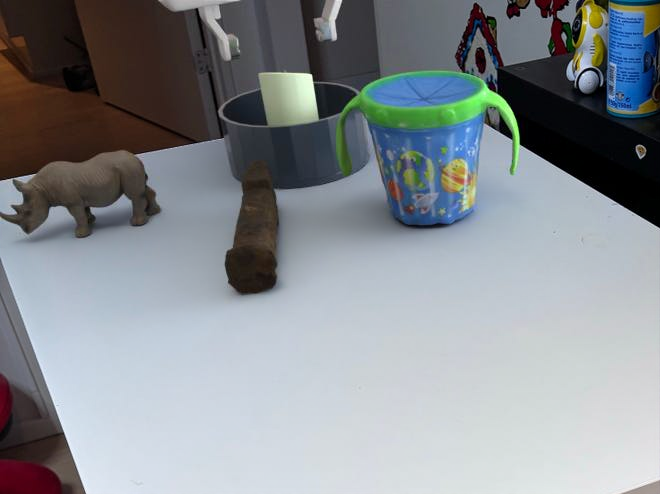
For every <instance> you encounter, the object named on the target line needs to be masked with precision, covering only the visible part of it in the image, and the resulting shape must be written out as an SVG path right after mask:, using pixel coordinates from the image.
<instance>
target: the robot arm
mask: <svg viewBox="0 0 660 494" xmlns="http://www.w3.org/2000/svg"><path fill="white" fill-rule="evenodd" d="M157 1H158V2H159V3H160V4H161V5H162V6H163V7H165V8H166V9H168V10H169V11H171V12H174V13H176V12H177V13H178V12H182V11H188V10H194V9H198V14H199V17H200V18H201V20H202V21H203V22H204V24H205V25H206V26H207V28H208V29H209V30H210V31H211V33H212V35H214V37H215V38H216V39H217V44H218V50H219V53H220V56H221V59H222V60H223V61H225V62H229V61H234V60H239V59H241V58H242V53H241V50H240V49H239V47H240V43H239V38H238V37H237V36H236V35H235V34H233V33H229V34H226V33H225V31H224V30H223V28H222V27H221V25H220V24H219V23H218V22H217V21H216V20H219V19H221V18H222V15H221V10H220V5H224V4H228V3H235V2H240V1H242V0H157ZM324 2H325V3H324V6H323V9H322V13H321V16H320V17H316V18H313V24H314V28H315V29H316V30H315V36H316V39H317V41H318V42H320V43H322V44H324V43H329V42H335V41H337V39H338V36H337V35H338V34H337V27H336V20H337V17H338V15H339V11H340V8H341V5H342V2H343V0H325V1H324Z"/></svg>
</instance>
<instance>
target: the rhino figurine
mask: <svg viewBox="0 0 660 494" xmlns="http://www.w3.org/2000/svg"><path fill="white" fill-rule="evenodd" d="M148 180H149V175H148V173H147V172H146V168H145V165H144V163H143V161H142V160H141V159H140V158H139V157H138V156H137V155H135V154H134V153H132V152H129V151H128V150H124V149H120V150H116V151H109V152H102V153H98V154H97V155H95V156H93V157H92V158H90V159H88V160H84V161H82V162H70V161H64V160H58V161H52V162H49V163H47V164H46V165H44V166H43V167H42V168H40V170H39V171H37V173H36V174H34V175H33V177H32V178H30V179H29V180H28V181H27V182H23V181H20V180H17V179H15V178H12V184H13V186H14V187H15V189H16V190H17V191H18V192H19V193H21V194H22V203H21V204H10V207H11V209H13V210H14V211H15V214H8V213H3V212H2V211H0V218H1V219H2V220H3V221H6V222H9V223H10V224H13V225H15V226H16V225H17V226H19V227H20V228H21V231H23V232H24V233H25V234H26V235H30V234H32V233H33V232H35V230H38V228H40V226H41V225H43V224H44V223H45V222H46V220H47V219H48V218H49V216H50V210H51V208H57V207H63V208H66V210H67V211H68V213H69V215H70V216H72V217H73V219H74V221H75V222H76V229H75V233H74V234H75V237H76V238H84V237H87V236H89V235H90V234H91V233H92V228H91V226H92V225H94V224H95V223H96V221H97V217H96V215H94V214H93V213H92V209H91V208H95V209H97V208H98V209H100V208H101V209H102V208H107V207H110V206H112V205H114V204H115V203H116V202H118V201H119V200H120V198H122V196H125V198H127V199H128V200H130V202H131V206H132V207H131V208H132V215H131V217H130V218H129V223H130V225H131V226H142V225H144V224H145V223H147V222H148V221H149V216H148V215H153V214H155V213H158V212H160V211H161V209H162V207H161V206H160V205H159V204H158V203H157V201H156V200H157V199H156V197H157V193H156V191H155V189H153V188H152V187H150V186H149V185H148V184H147V183H148Z"/></svg>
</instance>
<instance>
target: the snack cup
mask: <svg viewBox="0 0 660 494" xmlns="http://www.w3.org/2000/svg"><path fill="white" fill-rule="evenodd" d="M359 92H360V94H359V95H357V96H356V97H354V98H353V99H352V100H351V101H350V102H349V103H348V104H347V106H346V107H345V108H344V110H343V111H342V113H341V116H340V118H339V121H338V124H337V130H336V152H337V158H338V162H339V166H340V168H341V171H342V173H343V174H344V175H345V176H346V177H349V176H351V175H352V174H351V171H352V162H351V159H350V154H349V150H348V146H347V142H346V138H345V134H344V131H345V124H346V118H347V116H348V114H349V113H350V112H351V111H352V110H353V109H354V108H355V109H358V110H360V111H361V112H362V114H363V115H364V117H365V121H366V122H367V127H368V130H369V133H370V136H371V141H372V145H373V149H374V153H375V157H376V162H377V166H378V169H379V173H380V177H381V178H380V179H381V182H382V185H383V187H384V191H385V194H386V202H387V204H388V206H389V209H390V212H391V213H392V216H394V217H395V218H396V219H397V220H399V221H401V222H402V223H404V224H406V225H408V226H412V225H414V226H415V225H417V226H432V225H435V224H442V225H443V224H444V225H452V224H453V223H454V222H455V221H458V220H461V219H464V218H465V216H467V215H469V213H470V212H473V211H474V208H475V203H476V199H477V198H476V197H477V185H478V175H479V163H480V151H481V141H482V138H483V132H484V125H485V119H486V114H487V109H488V108H490V107H491V108H495V109H496V110H497V111H498V113H499V115H500V117H501V118H502V119H503V121H504V122H505V124H506V125H507V127H508V129H509V131H510V132H511V134H512V142H511V145H512V147H511V165H510V167H509V175H511V176H514V175H515V172H516V170H517V169H516V168H517V164H518V160H519V154H520V153H519V152H520V132H519V127H518V122H517V119H516V117H515V114H514V112H513V110H512V109H511V107H510V105H509V104H508V103H507V101H506V100H505V99H504V98H503V97H502V96H501V95H499V94H498V93H496V92H494V91H493V90H490V89H489V87H488V86H487V84H486V82H485V81H484V80H483V79H481V78H480V77H478V76H475V75H473V74H469V73H465V72H458V71H451V70H419V71H410V72H409V71H408V72H403V73H397V74H393V75H389V76H385V77H381V78H379V79H376V80H374V81H371V82H370V83H368V84H366V85H365V86H364V87H363V88H362V89H361V90H360V91H359ZM350 174H351V175H350Z"/></svg>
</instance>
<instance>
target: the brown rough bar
mask: <svg viewBox="0 0 660 494" xmlns="http://www.w3.org/2000/svg"><path fill="white" fill-rule="evenodd" d="M240 183H241V191H242V196H241V204H240V208H239V213H238V217H237V220H236V226H235V231H234V235H233V242H232V248H230V249H228V250H227V251H226V253H225V255H224V256H225V257H224V258H225V259H224V269H225V274H226V276H227V277H226V278H227V279H228V281H227V284H228V285H230V286H231V287H232V288H233V289H234V290H235V291H236V292H237V293H239V294H241V295H244V294H245V295H246V294H257V293H260V292H263V291H267V290H270V289H272V288H274V286H276V283H277V280H278V275H277V273H276V270H277V268H278V259H277V256H276V255H277V254H276V253H277V228H278V226H279V225H280V217H279V209H278V203H277V194H276V193H277V192H276V191H275V188H274V187H273V182H272V177H271V173H270V169H269V166H268V165H267V164H266V162H264V161H262V160H257V161H255V162H252V163H250V164H249V165H248V166H247V169H246V171H245V173H244V174H243V176H242V182H240Z"/></svg>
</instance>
